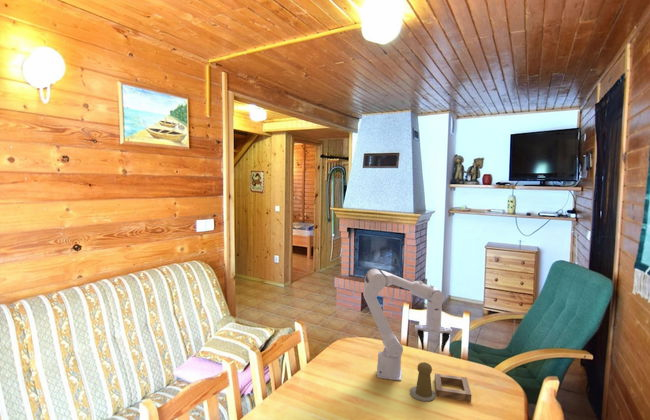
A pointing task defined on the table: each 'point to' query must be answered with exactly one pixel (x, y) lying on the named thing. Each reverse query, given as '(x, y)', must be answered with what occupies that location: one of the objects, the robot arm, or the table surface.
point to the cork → (424, 380)
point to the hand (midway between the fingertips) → (432, 349)
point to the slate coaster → (420, 396)
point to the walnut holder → (452, 393)
